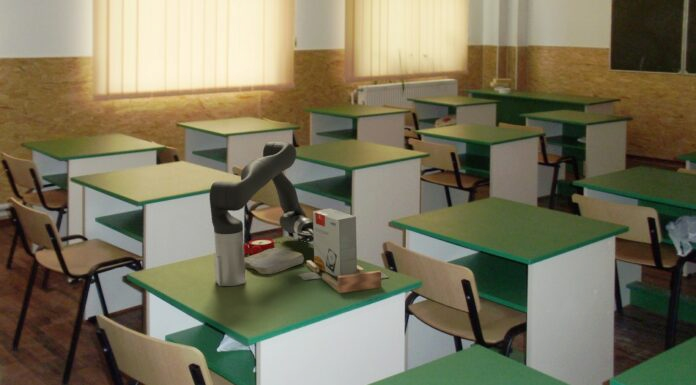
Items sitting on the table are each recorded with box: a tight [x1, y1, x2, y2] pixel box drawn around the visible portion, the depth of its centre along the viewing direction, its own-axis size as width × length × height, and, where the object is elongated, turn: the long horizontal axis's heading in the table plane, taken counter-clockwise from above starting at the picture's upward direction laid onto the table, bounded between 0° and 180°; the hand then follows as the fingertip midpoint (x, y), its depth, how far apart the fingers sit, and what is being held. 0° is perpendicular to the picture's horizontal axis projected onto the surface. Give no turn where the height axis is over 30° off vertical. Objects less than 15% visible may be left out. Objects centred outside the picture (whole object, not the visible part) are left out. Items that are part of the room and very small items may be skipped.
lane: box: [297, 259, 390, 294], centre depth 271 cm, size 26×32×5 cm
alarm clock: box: [244, 237, 280, 256], centre depth 302 cm, size 10×6×15 cm
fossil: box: [244, 247, 305, 275], centre depth 287 cm, size 20×5×17 cm
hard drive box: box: [312, 208, 358, 278], centre depth 276 cm, size 16×8×20 cm, turn 35°
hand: (322, 240), depth 288 cm, fingers closed
